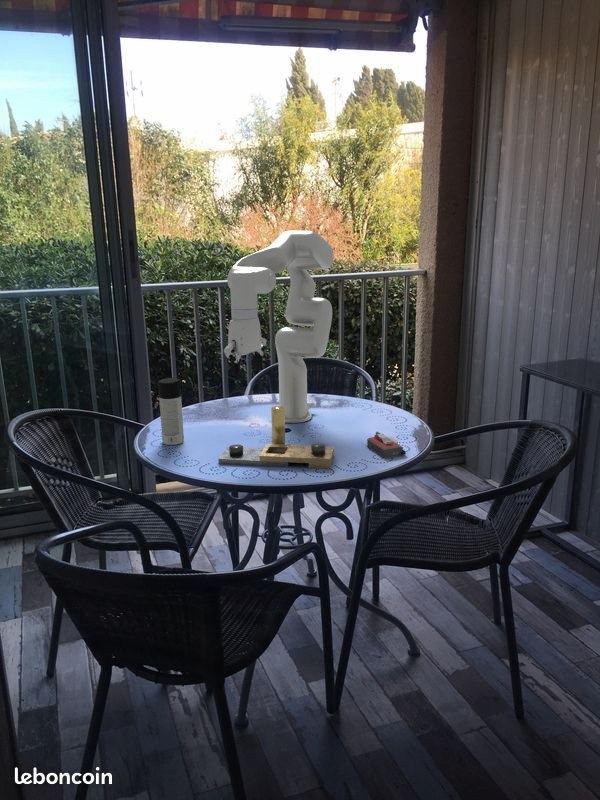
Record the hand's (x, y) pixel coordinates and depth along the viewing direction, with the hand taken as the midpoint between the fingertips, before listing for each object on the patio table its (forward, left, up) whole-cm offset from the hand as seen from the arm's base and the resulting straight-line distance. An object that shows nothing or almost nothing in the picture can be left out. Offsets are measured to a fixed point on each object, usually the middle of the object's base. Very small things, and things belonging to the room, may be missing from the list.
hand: (246, 372), depth 195 cm
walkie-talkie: (-26, +31, -24) cm, 47 cm away
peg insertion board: (+2, +13, -24) cm, 27 cm away
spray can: (+10, -23, -24) cm, 35 cm away
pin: (-8, +5, -24) cm, 25 cm away
